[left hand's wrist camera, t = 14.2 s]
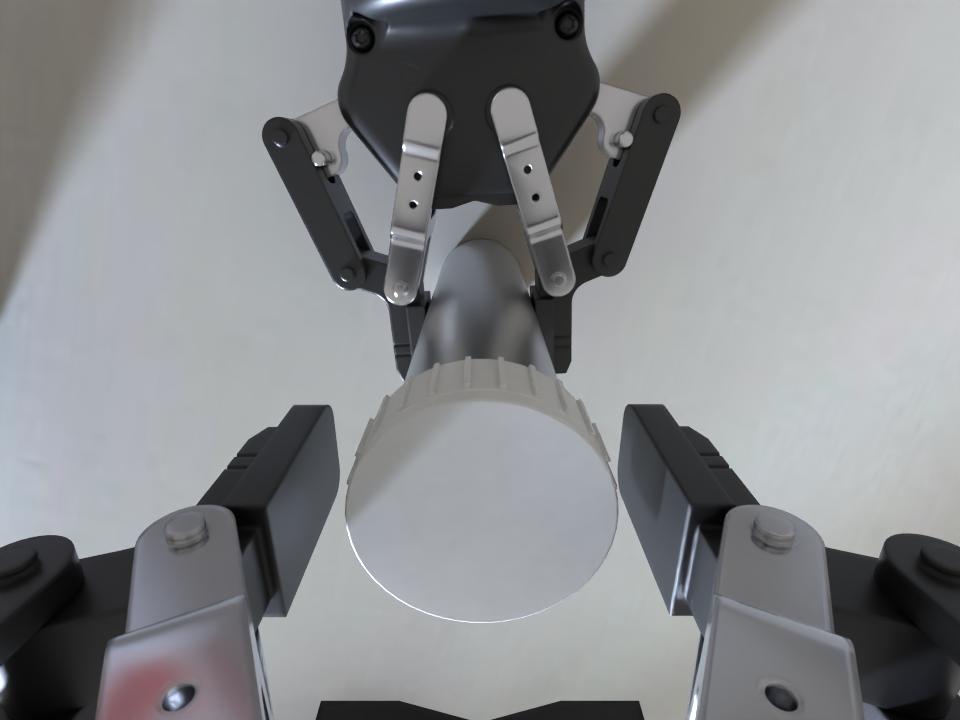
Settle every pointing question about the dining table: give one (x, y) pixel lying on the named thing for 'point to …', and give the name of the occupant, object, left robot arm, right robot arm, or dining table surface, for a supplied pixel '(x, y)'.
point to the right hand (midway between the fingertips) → (485, 381)
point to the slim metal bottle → (481, 313)
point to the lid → (481, 493)
